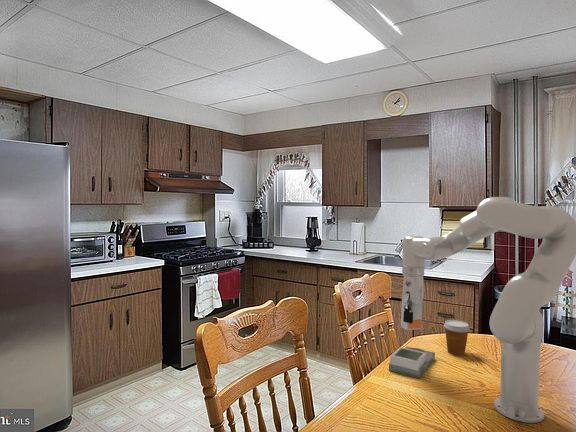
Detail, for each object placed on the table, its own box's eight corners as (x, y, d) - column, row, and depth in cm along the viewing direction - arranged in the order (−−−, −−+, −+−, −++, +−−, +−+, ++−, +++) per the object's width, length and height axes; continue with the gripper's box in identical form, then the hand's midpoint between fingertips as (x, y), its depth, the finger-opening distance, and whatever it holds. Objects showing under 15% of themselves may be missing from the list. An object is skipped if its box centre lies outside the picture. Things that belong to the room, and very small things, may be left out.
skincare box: (406, 330, 138) (408, 297, 138) (400, 326, 142) (401, 294, 142) (422, 329, 140) (423, 296, 139) (415, 325, 144) (416, 293, 143)
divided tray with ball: (419, 378, 135) (420, 362, 134) (388, 370, 141) (389, 355, 140) (434, 358, 151) (435, 344, 151) (406, 352, 157) (406, 339, 157)
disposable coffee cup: (438, 350, 159) (438, 321, 159) (455, 347, 163) (455, 318, 163) (457, 359, 151) (457, 328, 150) (474, 355, 155) (475, 325, 154)
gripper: (416, 275, 131) (414, 328, 132) (430, 268, 145) (429, 315, 146) (394, 273, 135) (392, 323, 136) (410, 265, 149) (408, 312, 150)
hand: (411, 319), depth 141 cm, fingers closed on skincare box, 7 cm apart
